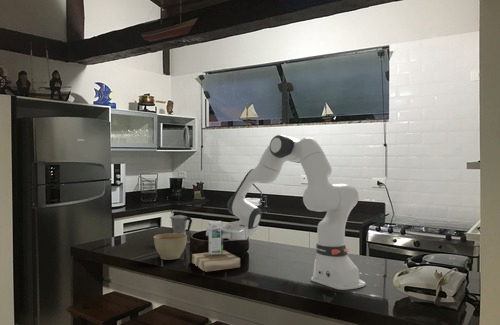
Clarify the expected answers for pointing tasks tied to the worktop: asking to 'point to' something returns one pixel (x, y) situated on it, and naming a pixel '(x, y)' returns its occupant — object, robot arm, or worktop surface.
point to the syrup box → (215, 237)
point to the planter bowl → (170, 245)
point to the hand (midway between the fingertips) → (214, 235)
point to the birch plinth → (215, 261)
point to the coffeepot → (180, 223)
